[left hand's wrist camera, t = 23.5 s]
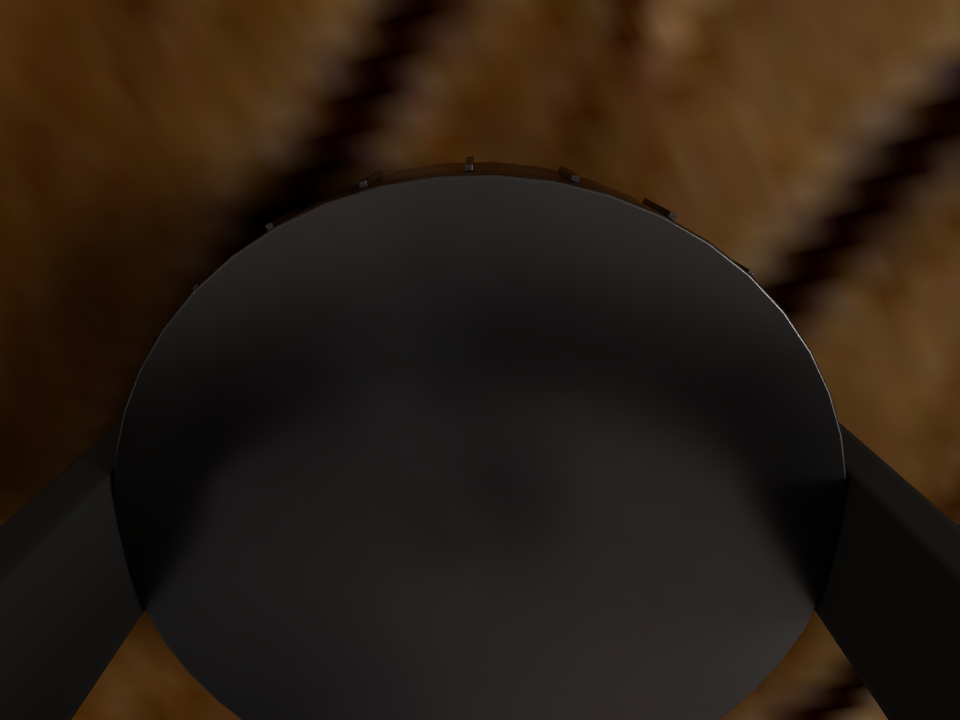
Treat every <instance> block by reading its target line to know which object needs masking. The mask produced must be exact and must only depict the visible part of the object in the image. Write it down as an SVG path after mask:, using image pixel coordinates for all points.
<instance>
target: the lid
mask: <svg viewBox="0 0 960 720" xmlns="http://www.w3.org/2000/svg"><path fill="white" fill-rule="evenodd" d="M676 216H677V215H676V214H674V213H673V212H671V211H669V210H667V209H665V208H663V207H661V206H659V205H658V204H656V203H654V202H652V201H650V200H648V199H646V198H645V199H644V200H643V202H642V203H641V202H640V201H638V200H636V199H634V198H633V197H631V196H629V195H626V194H624V193H621V192H619V191H616V190H614V189H611V188H609V187H606V186H604V185H601V184H599V183H596V182H594V181H592V180H589V179H586V178H582V177H580V176H578V175H577V174H575V173H574V172H572V171H571V170H569V169H568V168H566V167H563V166H560V167H559V172H558V171H554V170H550V169H546V168H542V167H535V166H525V165H516V164H506V163H497V162H480V163H474V158H473V157H467V158H466V162H465V163H448V164H440V165H434V166H428V167H422V168H416V169H410V170H404V171H398V172H395V173H392V174H389V175H386V176H383V175H382V172H381V171H379V172H375V173H374V174H372V175H370V176H369V177H367V178H365V179H364V180H362V181H360V182H359V184H357V185H354V186H352V187H350V188H348V189H346V190H343V191H341V192H339V193H337V194H335V195H333V196H331V197H329V198H327V199H325V200H322V201H320V202H318V203H316V204H314V205H312V206H310V207H309V208H307V209H305V210H303V211H301V210H300V208H296V209H295V210H293V211H291V212H289V213H287V214H285V215H283V216H281V217H280V218H278V219H276V220H274V221H272V222H270V223H269V224H267V225H266V226H265V227H266V229H267V230H268V232H266V233H265V234H263V235H262V236H260V237H259V238H257V239H256V240H254V241H253V242H251V243H250V244H248V245H247V246H245V247H244V248H242V249H241V250H239V251H238V252H236V253H235V254H233V255H232V256H231V257H230V258H228V259H227V260H226V261H225V262H224V263H223V264H222V265H221V266H220V267H219V268H217V269H216V270H215V271H214V272H213V273H212V274H211V275H210V276H209V277H208V278H206V279H204V280H203V281H201V282H200V283H198V284H196V285H195V286H194V288H193V292H192V293H191V294H190V295H189V297H188V298H187V299H186V300H185V302H184V303H183V304H182V305H181V306H180V308H179V309H178V310H177V311H176V313H175V314H174V315H173V316H172V318H171V319H170V320H169V321H168V323H167V324H166V325H165V326H164V328H163V329H162V331H161V333H160V334H159V336H158V338H157V339H156V341H155V343H154V345H153V346H152V348H151V350H150V352H149V353H148V355H147V357H146V359H145V360H144V362H143V364H142V366H141V367H140V369H139V372H138V375H137V377H136V380H135V383H134V385H133V388H132V391H131V393H130V396H129V399H128V401H127V404H126V407H125V409H124V413H123V418H122V423H121V428H120V433H119V438H118V443H117V448H116V453H115V476H114V502H115V510H116V519H117V525H118V530H119V535H120V539H121V543H122V547H123V551H124V555H125V559H126V563H127V567H128V571H129V575H130V577H131V580H132V582H133V584H134V586H135V589H136V591H137V593H138V596H139V598H140V600H141V602H142V605H143V607H144V609H145V611H146V613H147V614H148V616H149V618H150V619H151V621H152V623H153V624H154V626H155V628H156V629H157V631H158V632H159V634H160V636H161V637H162V639H163V641H164V642H165V644H166V645H167V646H168V648H169V649H170V650H171V651H172V652H173V654H174V655H175V656H176V657H177V659H178V660H179V661H180V662H181V664H182V665H183V666H184V667H185V669H186V670H187V671H188V672H189V674H190V675H191V676H192V677H193V678H194V679H195V680H196V681H198V682H199V683H200V684H201V685H202V686H203V687H204V688H205V689H206V690H207V691H208V692H209V693H210V694H211V695H212V696H213V697H214V698H215V699H216V700H217V701H218V702H219V703H221V704H222V705H223V706H225V707H226V708H227V709H228V710H230V711H231V712H232V713H234V714H235V715H236V716H238V717H239V718H240V719H241V720H719V719H720V718H722V717H723V716H724V715H726V714H727V713H728V712H729V711H731V710H732V709H733V708H734V707H735V706H736V705H738V704H739V703H740V702H741V701H742V700H743V699H745V698H746V697H747V696H748V695H749V694H750V693H752V692H753V691H754V690H755V689H756V688H757V687H758V686H759V685H760V684H761V682H762V681H763V680H764V679H765V678H766V677H767V676H768V675H769V674H770V673H771V672H772V671H773V670H774V668H775V667H776V666H777V665H778V664H779V663H780V662H781V661H782V659H783V658H784V657H785V655H786V654H787V652H788V651H789V650H790V648H791V647H792V645H793V644H794V643H795V641H796V640H797V639H798V637H799V636H800V634H801V633H802V632H803V630H804V629H805V627H806V625H807V623H808V621H809V619H810V617H811V615H812V614H813V612H814V610H815V608H816V606H817V604H818V602H819V600H820V599H821V597H822V595H823V592H824V590H825V587H826V584H827V581H828V579H829V576H830V573H831V569H832V566H833V562H834V558H835V554H836V550H837V545H838V541H839V537H840V532H841V528H842V524H843V519H844V514H845V495H846V469H845V460H844V451H843V442H842V434H841V430H840V426H839V423H838V419H837V416H836V412H835V408H834V405H833V401H832V398H831V394H830V391H829V389H828V387H827V384H826V382H825V380H824V378H823V376H822V374H821V371H820V369H819V367H818V365H817V363H816V360H815V358H814V356H813V354H812V352H811V350H810V348H809V347H808V345H807V344H806V342H805V341H804V339H803V338H802V336H801V335H800V333H799V332H798V331H797V329H796V328H795V326H794V325H793V323H792V322H791V320H790V319H789V317H788V316H787V314H786V313H785V311H784V310H783V309H782V308H781V307H780V306H779V305H778V304H777V302H776V301H775V300H774V299H773V298H772V297H771V296H770V295H769V294H768V293H767V292H766V291H765V289H764V288H763V287H762V286H761V285H760V284H759V283H758V282H757V281H756V280H755V279H754V278H753V276H754V273H753V272H752V271H751V270H749V269H747V268H746V267H744V266H742V265H741V264H739V263H737V262H736V261H734V260H732V259H731V258H729V257H728V256H727V255H726V254H724V253H723V252H722V251H720V250H719V249H718V248H717V247H715V246H714V245H713V244H712V243H710V242H709V241H707V240H706V239H704V238H702V237H700V236H699V235H697V234H695V233H693V232H692V231H690V230H688V229H687V228H685V227H683V226H681V225H680V224H678V223H676V222H674V219H675V218H676Z"/></svg>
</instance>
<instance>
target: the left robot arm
mask: <svg viewBox="0 0 960 720" xmlns="http://www.w3.org/2000/svg"><path fill="white" fill-rule="evenodd" d="M121 423H122V422H120V423H119V424H118V425H117V426H116V427H115V428H114V429H112V430H111V431H110V432H109V433H108V434H107V435H105V436H104V437H103V438H102V439H101V440H100V441H99V442H97V443H96V444H95V445H94V446H93V447H92V448H91V449H89V450H88V451H87V452H86V453H85V454H84V455H82V456H81V457H80V458H79V459H78V460H77V461H76V462H74V463H73V464H72V465H71V466H70V467H69V468H68V469H66V470H65V471H64V472H63V473H62V474H61V475H59V476H58V477H57V478H56V479H55V480H54V481H53V482H51V483H50V484H49V485H48V486H47V487H46V488H45V489H43V490H42V491H41V492H40V493H39V494H38V495H36V496H35V497H34V498H33V499H32V500H31V501H30V502H28V503H27V504H26V505H25V506H24V507H23V508H22V509H20V510H19V511H18V512H17V513H16V514H15V515H13V516H12V517H11V518H10V519H9V520H8V521H7V522H5V523H4V524H3V525H2V526H1V527H0V720H71V719H72V718H73V716H74V715H75V713H76V712H77V710H78V709H79V707H80V706H81V704H82V703H83V701H84V700H85V698H86V697H87V695H88V694H89V692H90V691H91V689H92V688H93V686H94V685H95V683H96V682H97V680H98V679H99V677H100V676H101V674H102V673H103V671H104V670H105V668H106V667H107V665H108V664H109V662H110V661H111V659H112V658H113V656H114V655H115V653H116V652H117V651H118V649H119V648H120V646H121V645H122V643H123V642H124V640H125V639H126V637H127V636H128V634H129V633H130V631H131V630H132V628H133V627H134V625H135V624H136V622H137V621H138V619H139V618H140V616H141V615H142V613H143V612H144V610H145V609H144V607H143V605H142V602H141V600H140V598H139V596H138V593H137V591H136V589H135V586H134V584H133V582H132V580H131V577H130V575H129V571H128V567H127V563H126V559H125V555H124V551H123V547H122V543H121V539H120V535H119V530H118V525H117V519H116V510H115V502H114V476H115V453H116V448H117V443H118V438H119V433H120V428H121ZM838 423H839V422H838ZM839 426H840V430H841V434H842V442H843V451H844V460H845V469H846V495H845V514H844V519H843V524H842V528H841V532H840V537H839V541H838V545H837V550H836V554H835V558H834V562H833V566H832V569H831V573H830V576H829V579H828V581H827V584H826V587H825V590H824V592H823V595H822V597H821V599H820V600H819V602H818V604H817V606H816V608H815V611H816V612H817V614H818V615H819V617H820V618H821V620H822V621H823V623H824V624H825V626H826V627H827V629H828V630H829V632H830V633H831V635H832V636H833V638H834V639H835V641H836V642H837V644H838V645H839V647H840V648H841V650H842V651H843V653H844V654H845V656H846V657H847V659H848V660H849V662H850V663H851V665H852V666H853V668H854V669H855V671H856V672H857V674H858V675H859V677H860V678H861V680H862V681H863V682H864V684H865V685H866V687H867V688H868V690H869V691H870V693H871V694H872V696H873V697H874V699H875V700H876V702H877V703H878V705H879V706H880V708H881V709H882V711H883V712H884V714H885V715H886V717H887V718H888V720H960V525H956V524H955V523H954V522H953V521H952V520H951V519H949V518H948V517H947V516H946V515H945V514H944V513H943V512H941V511H940V510H939V509H938V508H937V507H936V506H935V505H933V504H932V503H931V502H930V501H929V500H928V499H926V498H925V497H924V496H923V495H922V494H921V493H920V492H918V491H917V490H916V489H915V488H914V487H913V486H912V485H910V484H909V483H908V482H907V481H906V480H905V479H904V478H902V477H901V476H900V475H899V474H898V473H897V472H895V471H894V470H893V469H892V468H891V467H890V466H889V465H887V464H886V463H885V462H884V461H883V460H882V459H881V458H879V457H878V456H877V455H876V454H875V453H874V452H872V451H871V450H870V449H869V448H868V447H867V446H866V445H864V444H863V443H862V442H861V441H860V440H859V439H858V438H856V437H855V436H854V435H853V434H852V433H851V432H849V431H848V430H847V429H846V428H845V427H844V426H843V425H841V424H840V423H839Z"/></svg>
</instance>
